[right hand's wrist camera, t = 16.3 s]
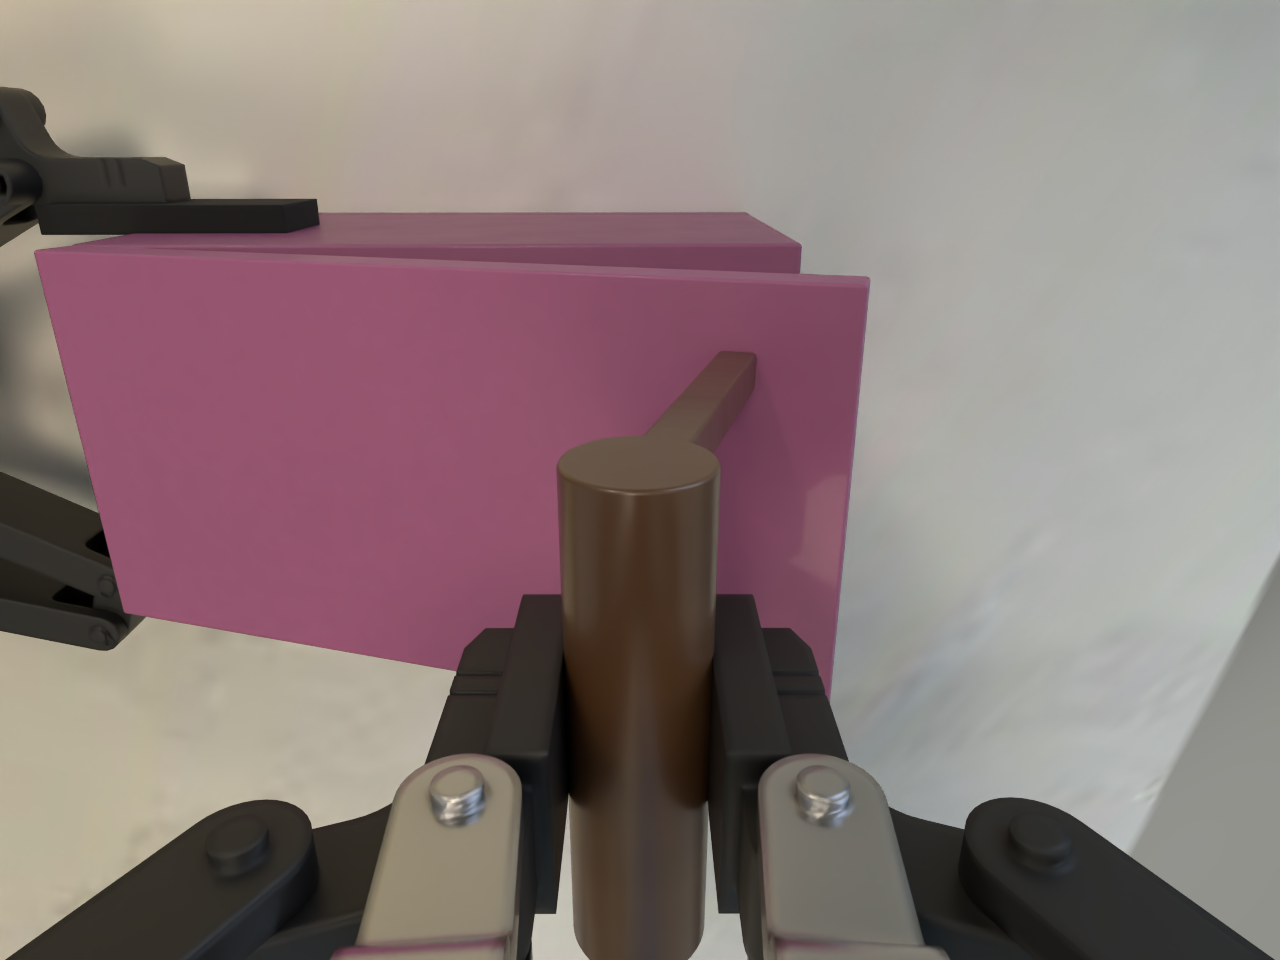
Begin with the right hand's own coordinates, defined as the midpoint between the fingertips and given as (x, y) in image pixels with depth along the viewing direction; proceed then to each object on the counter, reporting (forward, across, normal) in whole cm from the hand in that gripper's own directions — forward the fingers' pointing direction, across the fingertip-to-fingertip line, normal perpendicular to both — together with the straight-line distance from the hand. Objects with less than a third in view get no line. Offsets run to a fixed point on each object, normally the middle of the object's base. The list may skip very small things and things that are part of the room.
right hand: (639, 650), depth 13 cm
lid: (+8, -5, 0) cm, 9 cm away
